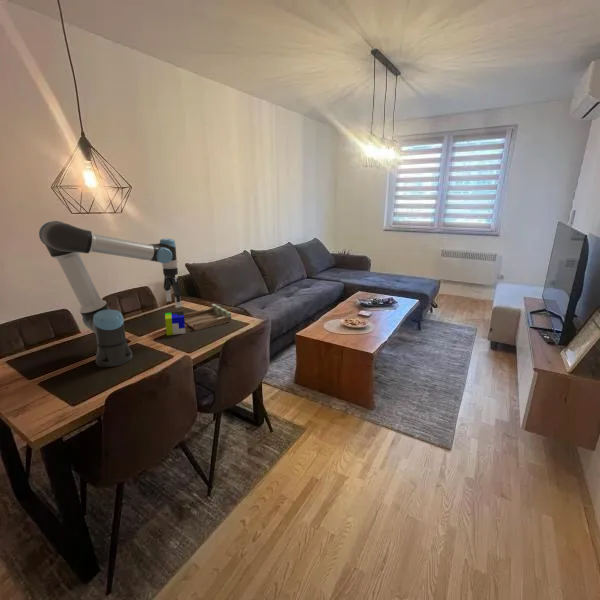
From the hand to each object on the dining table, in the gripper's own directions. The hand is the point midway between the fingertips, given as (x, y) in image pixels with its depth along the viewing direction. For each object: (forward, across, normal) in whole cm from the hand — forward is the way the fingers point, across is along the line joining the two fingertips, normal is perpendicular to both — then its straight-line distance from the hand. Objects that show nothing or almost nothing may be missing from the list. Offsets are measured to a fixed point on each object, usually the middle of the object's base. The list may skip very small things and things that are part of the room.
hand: (173, 304), depth 185 cm
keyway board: (+16, +5, -21) cm, 27 cm away
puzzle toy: (+17, 0, 0) cm, 17 cm away
